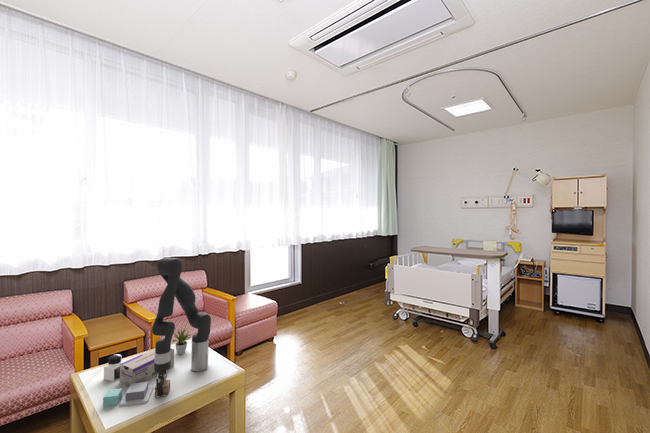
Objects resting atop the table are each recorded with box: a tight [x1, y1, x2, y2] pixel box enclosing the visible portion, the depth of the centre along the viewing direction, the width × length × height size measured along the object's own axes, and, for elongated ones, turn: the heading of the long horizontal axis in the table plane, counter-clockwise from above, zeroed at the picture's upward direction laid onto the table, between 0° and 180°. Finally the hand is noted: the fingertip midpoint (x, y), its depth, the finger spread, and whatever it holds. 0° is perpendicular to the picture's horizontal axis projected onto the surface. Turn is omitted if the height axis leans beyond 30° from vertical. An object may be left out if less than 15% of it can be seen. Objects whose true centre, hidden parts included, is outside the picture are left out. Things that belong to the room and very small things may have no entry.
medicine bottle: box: [103, 353, 124, 382], centre depth 168 cm, size 7×7×12 cm
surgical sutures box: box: [119, 348, 175, 388], centre depth 172 cm, size 25×11×11 cm, turn 155°
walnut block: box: [154, 379, 171, 398], centre depth 156 cm, size 6×6×5 cm
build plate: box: [118, 381, 155, 407], centre depth 152 cm, size 12×12×5 cm
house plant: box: [172, 326, 193, 355], centre depth 196 cm, size 14×14×16 cm
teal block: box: [102, 387, 123, 408], centre depth 147 cm, size 6×6×5 cm
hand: (161, 391), depth 156 cm, fingers closed on walnut block, 6 cm apart
